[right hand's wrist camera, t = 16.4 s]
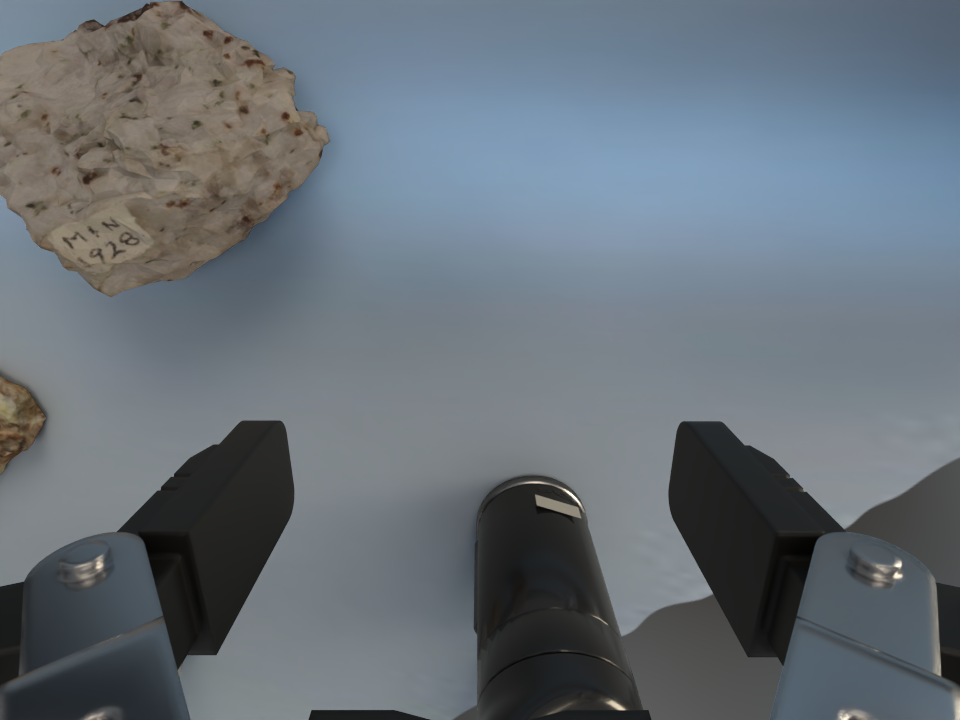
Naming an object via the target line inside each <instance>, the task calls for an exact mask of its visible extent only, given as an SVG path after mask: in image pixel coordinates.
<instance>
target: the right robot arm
mask: <svg viewBox="0 0 960 720" xmlns="http://www.w3.org/2000/svg"><path fill="white" fill-rule="evenodd" d="M293 504H294V483H293V476H292V469H291V461H290V454H289V447H288V440H287V433H286V428H285V426H284V424H283V422H282V421H241V422H240V423H239V424H238V425H237V426H236V427H235V428H234V429H233V430H232V431H231V432H230V433H229V434H228V435H227V437H226V438H225V439H224V440H223V441H222V442H221V443H220V444H219V445H212V446H210V447H208V448H207V449H205V450H203V451H201V452H200V453H198V454H196V455H194V456H193V457H191V458H189V459H188V460H187V461H186V462H185V463H184V464H183V465H182V466H181V467H180V468H179V470H178V471H177V472H176V473H175V474H174V477H171V478H170V479H169V480H168V481H167V482H166V483H165V484H164V485H163V486H162V487H161V491H157V492H156V493H155V494H154V495H153V496H152V497H151V498H150V499H149V500H148V501H147V502H146V503H145V504H144V505H143V506H142V507H141V508H140V509H139V510H138V511H137V512H136V513H135V514H134V515H133V516H132V517H131V518H130V519H129V520H128V521H127V522H126V523H125V524H124V525H123V526H122V527H121V528H120V529H119V530H118V531H117V532H110V533H103V534H98V535H94V536H90V537H87V538H83V539H81V540H78V541H75V542H73V543H71V544H68V545H66V546H64V547H62V548H60V549H58V550H57V551H55V552H53V553H52V554H50V555H49V556H47V557H46V558H44V559H43V560H42V561H40V562H39V563H38V564H37V565H36V566H35V567H34V568H33V569H32V570H31V571H30V573H29V574H28V575H27V577H26V579H25V582H21V583H16V584H11V585H6V586H1V587H0V720H190V716H189V712H188V709H187V705H186V701H185V697H184V693H183V689H182V686H181V682H180V678H179V674H178V669H179V668H180V666H181V664H182V663H183V661H184V659H185V658H186V656H187V655H217V653H218V651H219V649H220V647H221V645H222V644H223V642H224V640H225V638H226V636H227V634H228V632H229V631H230V629H231V627H232V625H233V623H234V621H235V619H236V618H237V616H238V614H239V612H240V610H241V608H242V606H243V605H244V603H245V601H246V599H247V597H248V595H249V593H250V592H251V590H252V588H253V586H254V584H255V582H256V580H257V578H258V577H259V575H260V573H261V571H262V569H263V567H264V565H265V564H266V562H267V560H268V558H269V556H270V554H271V552H272V551H273V549H274V547H275V545H276V543H277V541H278V539H279V538H280V536H281V534H282V532H283V530H284V528H285V526H286V525H287V523H288V521H289V519H290V516H291V513H292V510H293ZM669 506H670V511H671V515H672V518H673V520H674V522H675V524H676V526H677V528H678V529H679V531H680V533H681V535H682V537H683V539H684V540H685V542H686V544H687V546H688V548H689V550H690V551H691V553H692V555H693V557H694V559H695V561H696V562H697V564H698V566H699V568H700V570H701V572H702V573H703V575H704V577H705V579H706V581H707V583H708V585H709V586H710V588H711V590H712V592H713V594H714V595H715V597H716V599H717V601H718V603H719V605H720V607H721V608H722V610H723V612H724V614H725V616H726V618H727V619H728V621H729V623H730V625H731V627H732V629H733V630H734V632H735V634H736V636H737V638H738V640H739V641H740V643H741V645H742V647H743V649H744V651H745V653H746V654H747V656H748V657H778V658H779V660H780V662H781V663H782V665H783V670H782V674H781V678H780V682H779V686H778V689H777V694H776V697H775V701H774V705H773V709H772V712H771V716H770V720H960V587H955V586H950V585H945V584H940V583H936V582H935V579H934V577H933V576H932V574H931V573H930V571H929V570H928V569H927V568H926V567H925V566H924V565H923V564H922V563H921V562H920V561H918V560H917V559H916V558H914V557H913V556H911V555H910V554H908V553H907V552H905V551H903V550H902V549H900V548H898V547H896V546H894V545H892V544H889V543H887V542H885V541H882V540H879V539H877V538H873V537H870V536H866V535H862V534H857V533H850V532H846V531H845V530H844V529H843V528H842V527H841V526H840V525H839V524H838V523H837V522H836V521H835V520H834V519H833V518H832V517H831V516H830V515H829V514H828V513H827V512H826V511H825V510H824V509H823V508H822V507H821V506H820V505H819V504H818V503H817V502H816V501H815V500H814V499H813V498H812V497H811V496H810V495H809V494H808V493H807V492H803V488H802V487H801V486H800V485H799V484H798V483H797V482H796V481H795V480H794V479H793V478H790V475H789V474H788V473H787V472H786V471H785V470H784V469H783V468H782V467H781V466H780V465H779V464H778V463H777V462H776V461H775V460H774V459H773V458H771V457H769V456H768V455H766V454H764V453H762V452H760V451H759V450H757V449H755V448H753V447H752V446H745V445H744V444H743V443H742V442H741V441H740V440H739V439H738V438H737V437H736V436H735V435H734V434H733V433H732V432H731V431H730V430H729V428H728V427H727V426H726V425H725V424H724V423H723V422H719V421H683V422H681V423H680V425H679V427H678V429H677V434H676V440H675V447H674V455H673V462H672V469H671V476H670V483H669ZM477 537H478V540H477V542H476V543H475V571H474V630H475V632H476V634H477V671H478V677H477V720H651V717H650V714H649V711H648V710H643V708H642V704H641V701H640V698H639V695H638V691H637V687H636V684H635V681H634V677H633V674H632V671H631V667H630V664H629V661H628V657H627V654H626V651H625V648H624V645H623V641H622V638H621V634H620V631H619V628H618V624H617V621H616V618H615V614H614V611H613V608H612V604H611V601H610V598H609V594H608V591H607V588H606V584H605V581H604V578H603V574H602V571H601V568H600V564H599V561H598V558H597V554H596V551H595V548H594V544H593V541H592V537H591V534H590V531H589V528H588V521H587V517H586V513H585V510H584V507H583V504H582V502H581V500H580V499H579V497H578V496H577V495H576V493H575V492H574V491H573V490H571V489H570V488H569V487H568V486H566V485H565V484H563V483H561V482H559V481H557V480H554V479H552V478H548V477H543V476H523V477H518V478H515V479H511V480H509V481H507V482H504V483H502V484H501V485H499V486H498V487H496V488H495V489H494V490H492V491H491V492H490V493H489V494H488V495H487V497H486V498H485V499H484V501H483V502H482V504H481V506H480V509H479V512H478V516H477ZM309 720H429V719H425V718H422V717H418V716H414V715H410V714H407V713H403V712H399V711H395V710H312V711H311V714H310V717H309Z"/></svg>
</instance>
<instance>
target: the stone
mask: <svg viewBox="0 0 960 720" xmlns="http://www.w3.org/2000/svg"><path fill="white" fill-rule="evenodd" d="M45 419H46V417H45V416H44V414H43V413H42V411H41V410H40V408H39V407H38V405H37V404H36V402H35V401H34V399H33V398H32V396H31V395H30V393H29V392H28V390H26V389H25V388H23V387H22V386H20V385H16V384H13V383H11V382H9V381H7V380H5V379H4V378H2V377H1V376H0V474H1V473H2V472H3V471H4V469H5V466H6V464H7V463H8V462H9V461H10V460H11V459H12V458H13V457H15V456H16V455H17V454H19V453H20V452H21V451H25V450H27V449H28V448H29V447H30V446H31V445H32V444H33V442H34V441H35V437H36V436H37V435H38V434H39V432H40V430H41V428H42V426H43V422H44V420H45Z"/></svg>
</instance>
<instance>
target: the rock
mask: <svg viewBox="0 0 960 720" xmlns="http://www.w3.org/2000/svg"><path fill="white" fill-rule="evenodd" d="M274 66H275V64H274V63H273V62H272V61H271V60H270V58H269V57H268V56H266V55H264V54H262V53H260V52H258V51H256V50H255V49H254V48H253V47H252V46H251V45H250V44H249V43H248V42H247V41H244V40H241V39H238V38H236V37H234V36H232V35H230V34H229V33H227V32H224V31H223V30H222V29H220V28H219V27H218V26H217V25H216V24H215V23H214V22H213V21H211V20H209V19H208V18H206V17H205V16H204V15H203V14H202V13H200V12H197V11H195V10H193V9H191V8H189V7H188V6H186V5H185V4H184V3H183V2H182V1H167V2H150V5H149V4H147V3H146V4H145V6H144V7H143V8H141V9H139V10H136V11H134V12H132V13H129V14H127V15H125V16H123V17H121V18H118V19H115V20H112V21H110V22H109V23H108V24H107V25H106V26H103V25H101V24H100V23H98V22H97V21H95V20H90V21H86V22H84V23H83V24H81V25H79V27H78V30H75V31H74V32H72V33H70V34H69V35H68V36H67V37H66V38H65V39H63V40H61V41H51V42H43V43H34V44H28V45H23V46H19V47H16V48H14V49H11V50H9V51H6V52H4V53H3V54H2V55H1V57H0V195H1V196H3V197H4V198H5V199H6V202H7V208H9V209H10V210H12V211H13V212H14V213H16V214H17V215H19V216H20V217H22V218H23V220H24V222H25V223H26V229H27V230H28V231H29V233H30V235H31V238H32V240H33V241H34V242H35V243H36V244H37V245H38V246H39V247H41V248H42V249H45V250H49V251H52V252H55V253H56V255H57V257H58V258H59V260H60V262H61V264H62V266H63V267H64V268H66V269H67V270H69V271H77V272H78V273H79V274H80V275H81V276H82V277H83V278H84V279H85V280H86V281H87V282H88V283H89V284H90V285H91V286H92V287H93V288H94V289H96V290H98V291H100V292H102V293H104V294H106V295H108V296H110V297H112V296H114V295H116V294H118V293H120V292H122V291H125V290H128V289H131V288H135V287H138V286H142V285H145V284H148V283H154V282H158V281H161V280H164V281H172V280H179V279H184V278H186V277H188V276H189V275H190V274H191V273H193V272H194V271H195V270H196V269H198V268H200V267H201V266H203V265H204V264H205V263H207V262H208V261H209V260H211V259H215V258H216V257H218V256H219V255H221V254H222V253H224V252H225V251H226V250H228V249H229V248H231V247H232V246H234V245H236V244H237V243H239V242H241V241H243V240H244V239H245V238H246V237H247V236H248V234H249V233H250V231H251V228H253V226H255V225H256V224H258V223H261V222H264V221H266V220H267V219H268V217H269V216H270V214H271V213H272V211H273V210H275V209H276V208H277V207H278V206H280V205H281V204H282V202H284V201H285V200H286V199H287V195H288V194H289V193H290V191H292V190H294V189H297V188H299V187H300V186H301V185H302V183H303V182H304V181H305V180H306V179H307V177H308V176H309V175H310V174H311V172H312V171H313V170H314V169H315V168H316V166H317V165H318V163H319V161H320V158H321V156H322V151H323V146H324V145H326V144H327V143H329V142H330V139H329V136H328V133H327V130H326V128H325V127H323V126H320V125H317V116H316V115H315V114H314V112H305V111H298V110H297V109H296V107H295V102H294V100H293V97H294V96H295V91H294V83H295V77H296V76H295V75H294V73H293V72H292V71H290V70H288V69H286V68H280V69H276V70H273V68H274Z"/></svg>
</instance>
